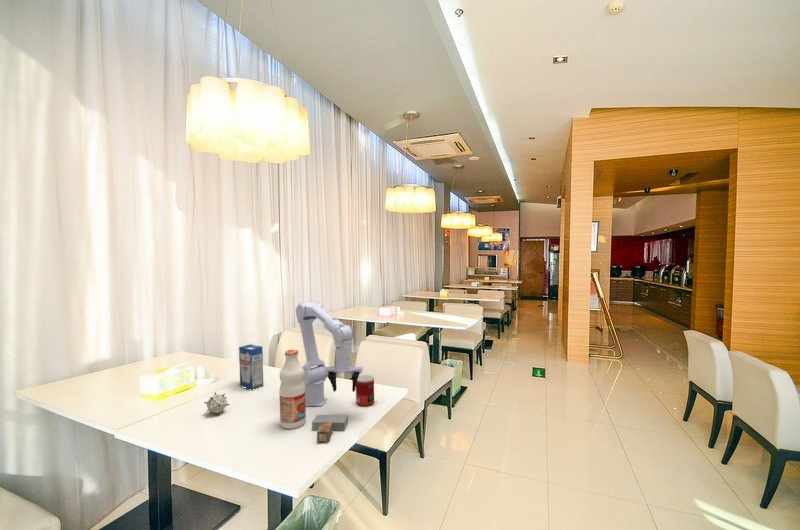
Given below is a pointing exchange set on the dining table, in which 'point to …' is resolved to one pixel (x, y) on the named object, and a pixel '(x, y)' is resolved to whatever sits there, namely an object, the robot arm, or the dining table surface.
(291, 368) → the fruit juice
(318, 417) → the gray rectangular block
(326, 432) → the walnut block
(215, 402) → the grey spiked polyhedron
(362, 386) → the canned food
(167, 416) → the dining table surface
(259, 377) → the milk carton
